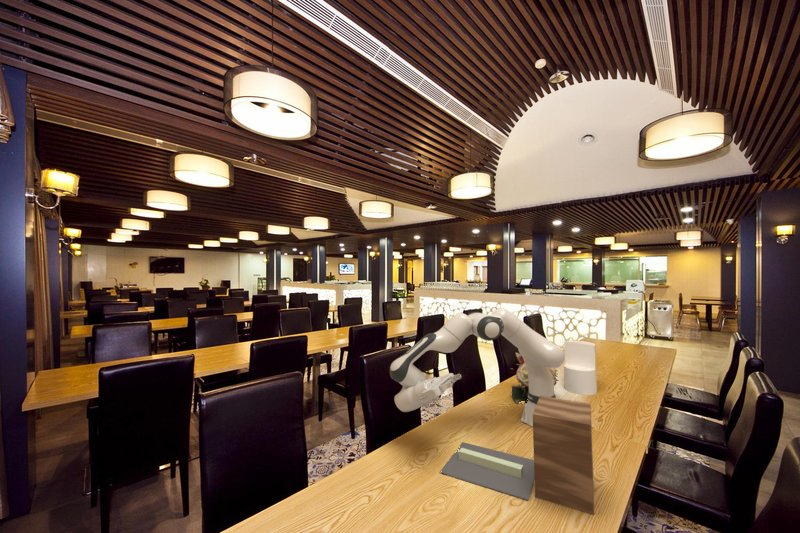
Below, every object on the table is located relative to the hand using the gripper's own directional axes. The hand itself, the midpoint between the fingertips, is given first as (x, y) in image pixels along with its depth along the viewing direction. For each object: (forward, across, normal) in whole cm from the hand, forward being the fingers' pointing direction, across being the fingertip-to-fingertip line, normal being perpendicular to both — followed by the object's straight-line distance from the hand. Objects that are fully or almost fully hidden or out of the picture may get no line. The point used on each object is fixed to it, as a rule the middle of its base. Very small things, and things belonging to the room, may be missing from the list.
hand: (456, 379), depth 126 cm
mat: (-3, -1, +32) cm, 33 cm away
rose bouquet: (0, +78, +37) cm, 87 cm away
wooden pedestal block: (+18, -1, +44) cm, 48 cm away
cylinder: (+19, +105, +48) cm, 117 cm away
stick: (-3, -1, +32) cm, 32 cm away
